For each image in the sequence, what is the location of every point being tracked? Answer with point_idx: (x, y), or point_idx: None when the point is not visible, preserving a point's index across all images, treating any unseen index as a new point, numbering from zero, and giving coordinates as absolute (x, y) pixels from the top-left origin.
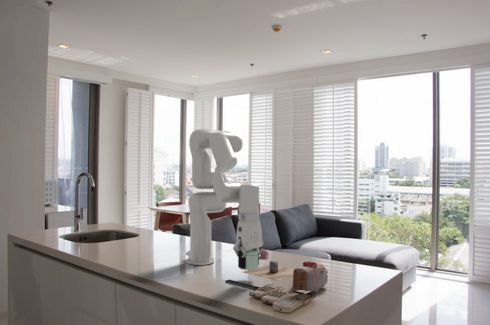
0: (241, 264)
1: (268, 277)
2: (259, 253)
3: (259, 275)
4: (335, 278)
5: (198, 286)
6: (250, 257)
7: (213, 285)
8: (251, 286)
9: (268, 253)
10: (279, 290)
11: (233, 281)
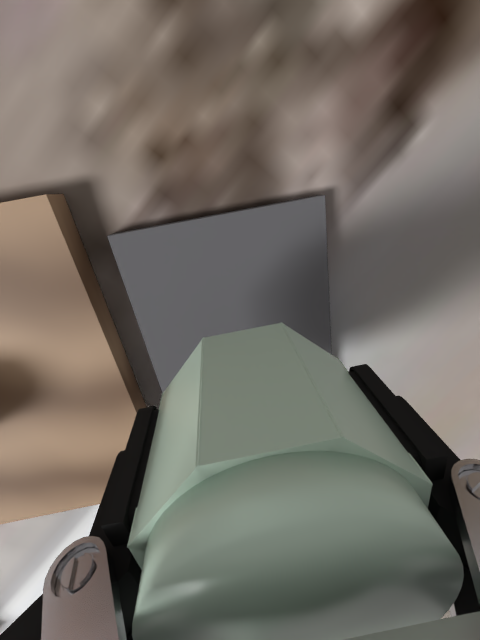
0: (408, 407)
1: (76, 320)
2: (73, 549)
3: (110, 391)
4: None
5: (459, 427)
6: (366, 436)
7: None
8: (306, 244)
9: None
10: (150, 51)
11: None
